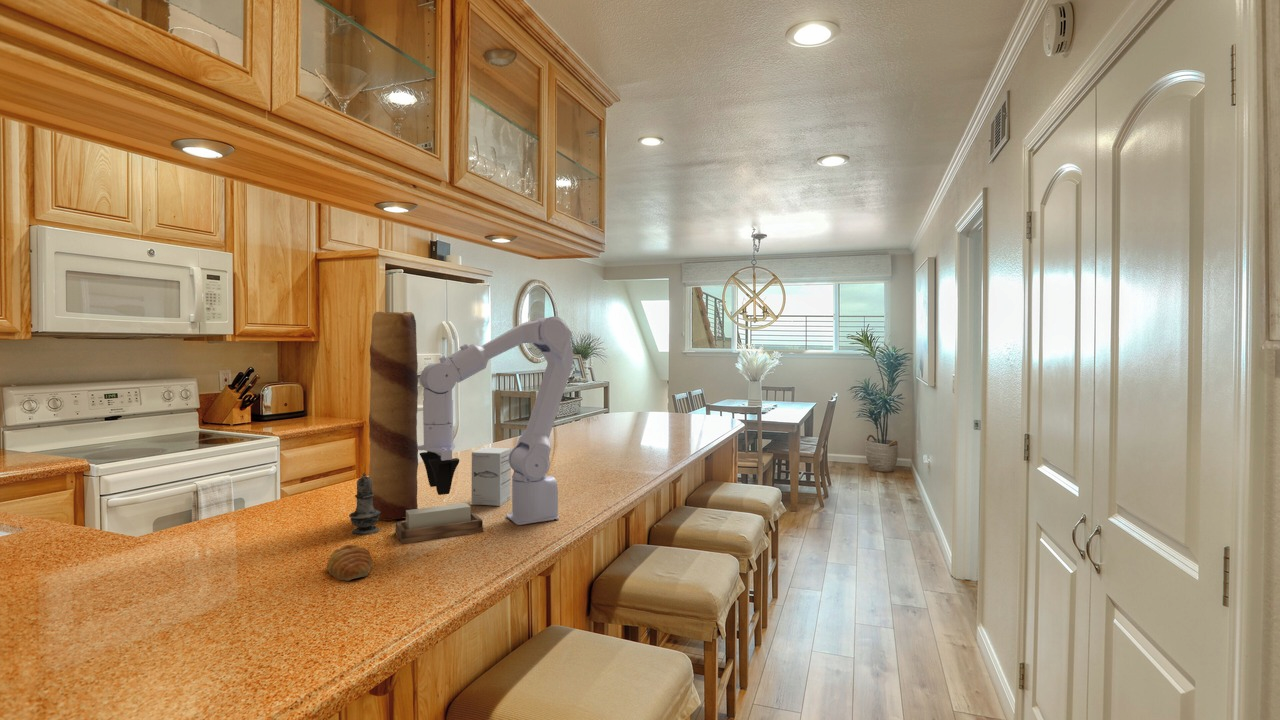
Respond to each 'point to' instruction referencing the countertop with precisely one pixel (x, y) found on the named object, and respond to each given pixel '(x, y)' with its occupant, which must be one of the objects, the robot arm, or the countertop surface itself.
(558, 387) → the robot arm
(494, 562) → the countertop surface
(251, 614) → the countertop surface
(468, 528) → the tray
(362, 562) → the pastry
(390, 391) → the wafer roll
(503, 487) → the supplement box
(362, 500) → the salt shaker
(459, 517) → the grey rectangular block
